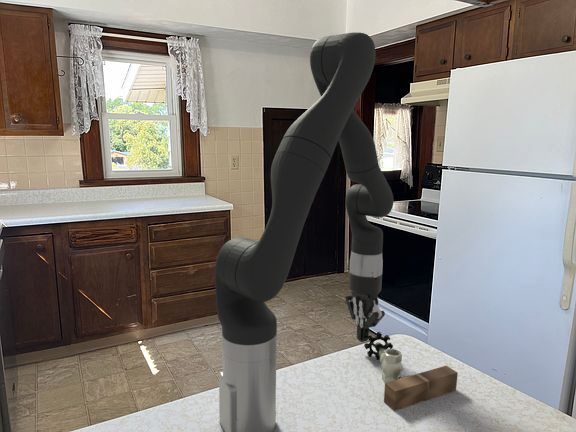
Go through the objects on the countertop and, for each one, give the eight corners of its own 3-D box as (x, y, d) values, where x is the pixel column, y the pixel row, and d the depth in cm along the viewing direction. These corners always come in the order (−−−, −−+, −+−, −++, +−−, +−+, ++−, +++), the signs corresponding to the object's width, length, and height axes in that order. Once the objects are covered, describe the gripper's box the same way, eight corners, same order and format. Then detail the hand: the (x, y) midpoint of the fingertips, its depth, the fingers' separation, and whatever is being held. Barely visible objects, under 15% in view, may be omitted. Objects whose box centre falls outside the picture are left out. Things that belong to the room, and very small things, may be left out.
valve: (409, 386, 87) (390, 357, 99) (411, 356, 86) (392, 331, 98) (378, 387, 86) (363, 358, 98) (380, 357, 85) (364, 331, 97)
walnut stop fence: (393, 411, 79) (395, 391, 78) (383, 402, 81) (384, 382, 81) (456, 390, 85) (457, 372, 85) (444, 383, 88) (446, 365, 87)
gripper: (336, 264, 102) (334, 332, 105) (369, 280, 90) (366, 355, 93) (362, 261, 105) (359, 326, 108) (397, 276, 93) (392, 349, 96)
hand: (362, 340), depth 100 cm, fingers closed
